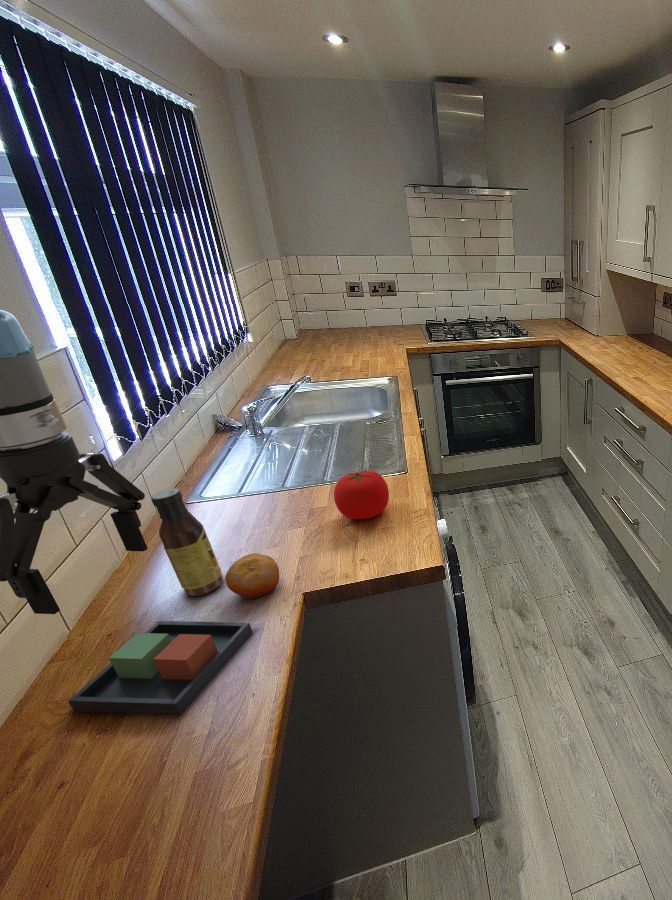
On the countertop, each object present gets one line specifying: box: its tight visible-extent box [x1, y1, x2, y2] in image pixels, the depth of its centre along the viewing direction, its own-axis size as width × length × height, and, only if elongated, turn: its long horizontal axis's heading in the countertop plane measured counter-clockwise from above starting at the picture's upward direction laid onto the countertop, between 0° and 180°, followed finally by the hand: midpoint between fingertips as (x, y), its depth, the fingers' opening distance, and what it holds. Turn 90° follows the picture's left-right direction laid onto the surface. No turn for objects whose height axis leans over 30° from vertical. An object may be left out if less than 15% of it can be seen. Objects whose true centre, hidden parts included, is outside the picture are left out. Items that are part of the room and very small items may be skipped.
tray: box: [67, 620, 254, 716], centre depth 80 cm, size 16×16×2 cm
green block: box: [108, 632, 172, 679], centre depth 79 cm, size 5×5×4 cm
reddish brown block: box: [153, 634, 218, 680], centre depth 79 cm, size 5×5×4 cm
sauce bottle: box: [150, 487, 224, 597], centre depth 94 cm, size 7×6×20 cm
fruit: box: [224, 552, 280, 600], centre depth 95 cm, size 8×8×8 cm
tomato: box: [333, 468, 390, 520], centre depth 118 cm, size 11×12×10 cm
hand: (96, 578), depth 73 cm, fingers open, 13 cm apart
